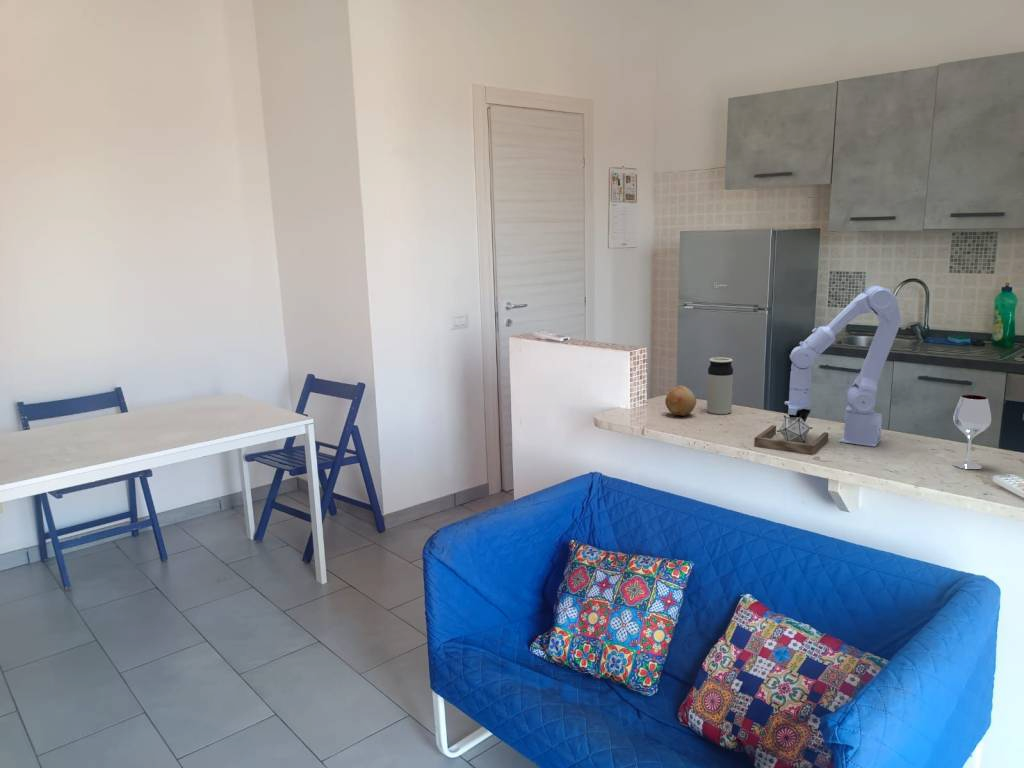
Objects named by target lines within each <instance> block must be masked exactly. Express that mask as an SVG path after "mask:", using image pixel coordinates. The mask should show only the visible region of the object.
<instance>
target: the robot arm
mask: <svg viewBox="0 0 1024 768" xmlns="http://www.w3.org/2000/svg"><path fill="white" fill-rule="evenodd" d="M898 303H899V299H898V298H897V297H896V295H895V294H894V292H893V291H892V290H891V289H889V288H887V287H882V286H880V285H877V284H874V285H871V286H868V287H867V288H866V289H864V291H863V292H860V293H859V294H858V295H857V296H856V297H855V298H853V300H851V301H850V302H849V303H848V304H847V305H846V306H845V308H843V309H842V311H840V312H839V313H838V314H837V316H835V318H833V319H832V320H831V321H830V322H829V324H827V325H826V326H819V327H818V328H816V327H815V328H813V329H812V330H811V332H812V333H811V334H809V336H808V337H807V338H806V339H805V340H803V341H802V340H801V341H800V342H799V346H795V347H794V348H793V349H792V351H791V352H790V354H789V359H790V361H791V367H790V370H791V371H790V373H789V374H790V376H789V377H790V378H789V392H788V394H789V395H788V400H786V401H784V405H785V406H786V405H787V407H788V409H787V411H786V412H787V416H788V417H800V415H802V417H801V418H802V419H803V420H804V421H805V422H806V421H807V419H808V417H809V415H810V413H811V409H809V408H811V406H812V405H811V404H812V403H811V393H812V374H813V373H812V366H813V365H814V363H815V359H816V358H817V357H819V356H820V355H821V354H822V353H824V352H825V351H826V349H828V348H829V347H830V346H831V345H832V344H833V343H834V342H836V335H837V333H839V332H840V331H842V329H843V328H845V327H846V326H848V324H849V323H851V322H852V321H853V320H854V319H855V318H856V317H858V316H859V315H863V314H870V313H872V312H873V313H874V315H875V316H876V318H877V320H878V321H879V323H878V326H877V328H876V331H875V333H874V337H873V339H872V342H871V343H870V346H869V349H868V352H867V353H866V357H865V359H864V362H863V364H862V367H861V369H860V371H859V374H858V375H857V377H855V379H854V382H853V384H852V385H851V386H849V388H848V389H847V390H846V392H845V400H846V402H847V403H848V405H847V406H846V407H845V413H844V414H845V415H844V428H843V429H844V430H843V431H844V432H843V436H842V438H841V439H839V442H840V443H844V444H850V445H851V444H853V445H858V446H859V445H860V446H867V447H873V448H874V447H876V446H878V445H879V443H880V442H881V441H882V425H883V414H882V413H881V412H880V413H878V412H875V410H874V408H876V407H875V406H876V404H877V403H876V402H877V401H876V395H877V391H878V382H879V379H880V376H881V374H882V372H883V369H884V367H885V364H886V361H887V358H888V356H889V354H890V351H891V349H892V346H893V344H894V341H895V338H896V336H897V333H898V331H899V328H900V326H901V323H902V317H901V312H900V308H899V305H898Z"/></svg>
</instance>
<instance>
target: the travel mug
mask: <svg viewBox="0 0 1024 768" xmlns="http://www.w3.org/2000/svg"><path fill="white" fill-rule="evenodd" d="M708 360H709V363H710V365H709V366H708V369H707V396H706V397H707V399H706V412H708V413H710V414H712V413H713V415H719V414H720V415H728V413H729V414H730V413H732V407H733V406H732V405H733V404H732V403H733V378H734V368H733V366H732V362H733V359H732V358H730V357H722V356H721V357H720V356H719V357H711V358H709V359H708Z"/></svg>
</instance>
